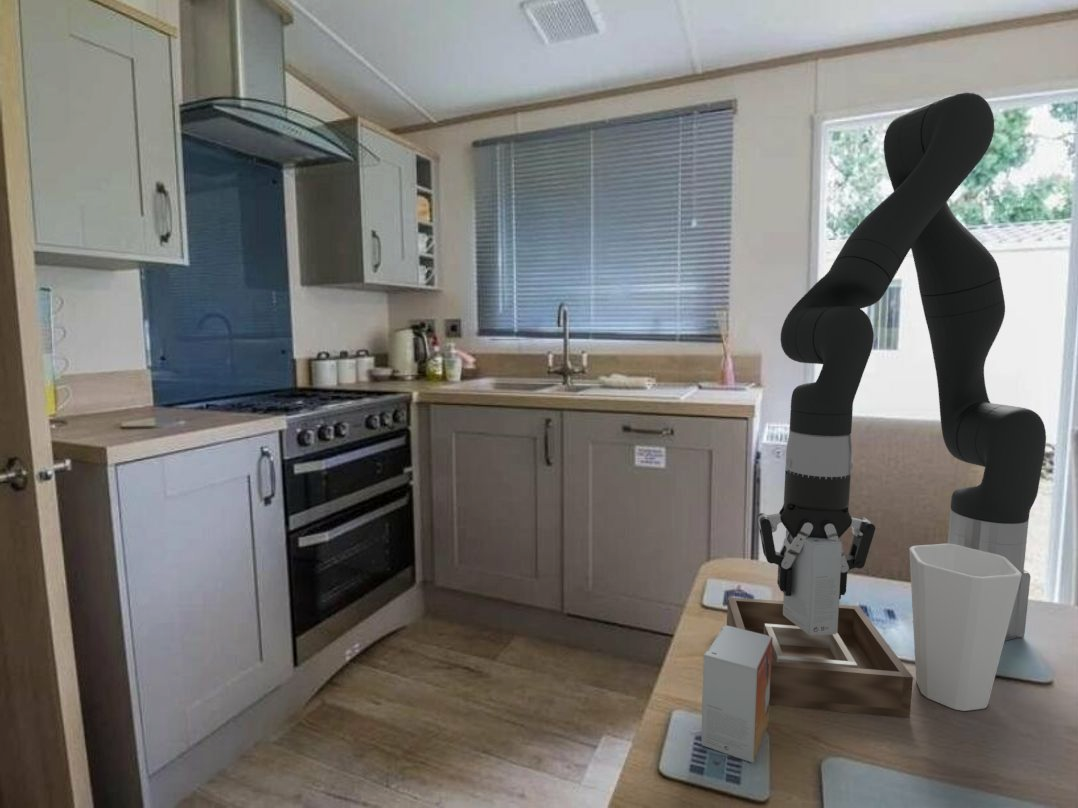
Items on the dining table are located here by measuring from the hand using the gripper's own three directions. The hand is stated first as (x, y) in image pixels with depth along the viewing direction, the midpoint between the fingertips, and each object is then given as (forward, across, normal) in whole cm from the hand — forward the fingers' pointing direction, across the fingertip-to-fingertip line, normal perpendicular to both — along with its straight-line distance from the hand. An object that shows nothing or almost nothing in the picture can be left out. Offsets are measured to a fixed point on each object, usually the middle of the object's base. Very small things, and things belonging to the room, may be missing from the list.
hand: (810, 594), depth 80 cm
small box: (+10, +11, +15) cm, 21 cm away
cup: (+10, -16, +3) cm, 19 cm away
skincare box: (+4, 0, 0) cm, 4 cm away
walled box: (+10, 0, 0) cm, 10 cm away
